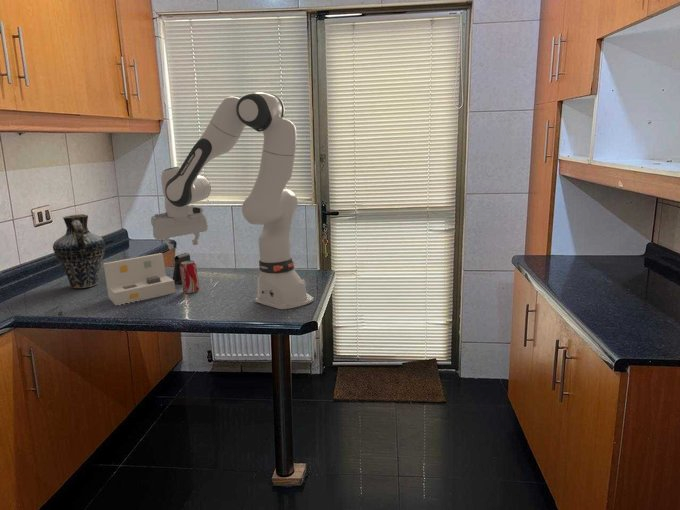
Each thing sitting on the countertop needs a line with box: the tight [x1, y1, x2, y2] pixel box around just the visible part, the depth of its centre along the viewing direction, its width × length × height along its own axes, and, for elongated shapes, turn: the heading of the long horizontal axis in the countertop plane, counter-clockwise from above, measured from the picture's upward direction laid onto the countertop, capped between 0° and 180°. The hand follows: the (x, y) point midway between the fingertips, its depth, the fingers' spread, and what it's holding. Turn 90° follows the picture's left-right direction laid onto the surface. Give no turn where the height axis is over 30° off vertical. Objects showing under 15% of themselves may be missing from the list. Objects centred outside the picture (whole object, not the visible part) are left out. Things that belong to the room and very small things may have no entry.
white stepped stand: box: [102, 252, 177, 306], centre depth 197 cm, size 12×22×14 cm, turn 126°
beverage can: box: [180, 260, 200, 294], centre depth 199 cm, size 6×6×12 cm
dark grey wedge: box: [172, 252, 199, 286], centre depth 212 cm, size 9×6×12 cm, turn 64°
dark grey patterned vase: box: [52, 213, 106, 289], centre depth 213 cm, size 21×19×30 cm
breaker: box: [147, 276, 160, 284], centre depth 199 cm, size 4×4×4 cm
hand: (183, 246), depth 195 cm, fingers open, 8 cm apart
